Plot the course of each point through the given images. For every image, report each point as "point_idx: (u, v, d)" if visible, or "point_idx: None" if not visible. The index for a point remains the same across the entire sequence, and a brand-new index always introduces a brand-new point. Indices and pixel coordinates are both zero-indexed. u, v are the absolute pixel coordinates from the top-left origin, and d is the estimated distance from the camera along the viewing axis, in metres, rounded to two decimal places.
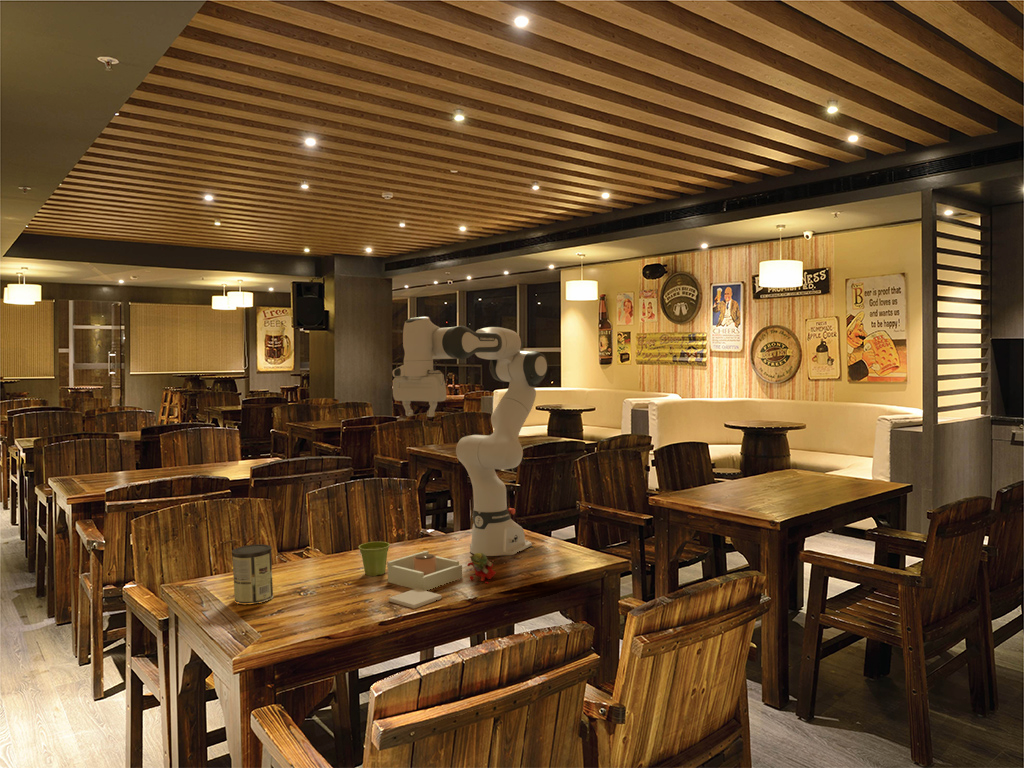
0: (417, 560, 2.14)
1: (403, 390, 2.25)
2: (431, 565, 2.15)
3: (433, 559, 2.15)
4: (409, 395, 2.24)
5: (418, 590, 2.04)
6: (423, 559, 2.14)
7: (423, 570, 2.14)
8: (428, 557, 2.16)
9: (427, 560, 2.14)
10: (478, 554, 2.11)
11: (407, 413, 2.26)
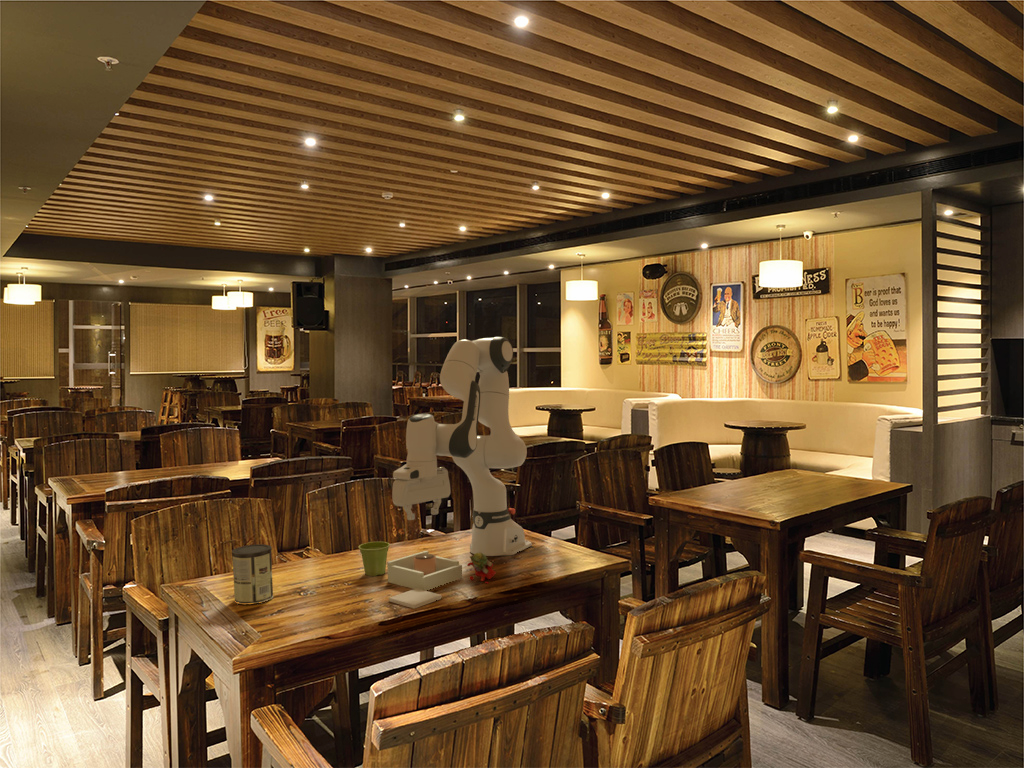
0: (417, 560, 2.14)
1: (413, 493, 2.11)
2: (431, 565, 2.15)
3: (433, 559, 2.15)
4: (420, 497, 2.13)
5: (418, 590, 2.04)
6: (423, 559, 2.14)
7: (423, 570, 2.14)
8: (428, 557, 2.16)
9: (427, 560, 2.14)
10: (478, 554, 2.11)
11: (413, 517, 2.12)
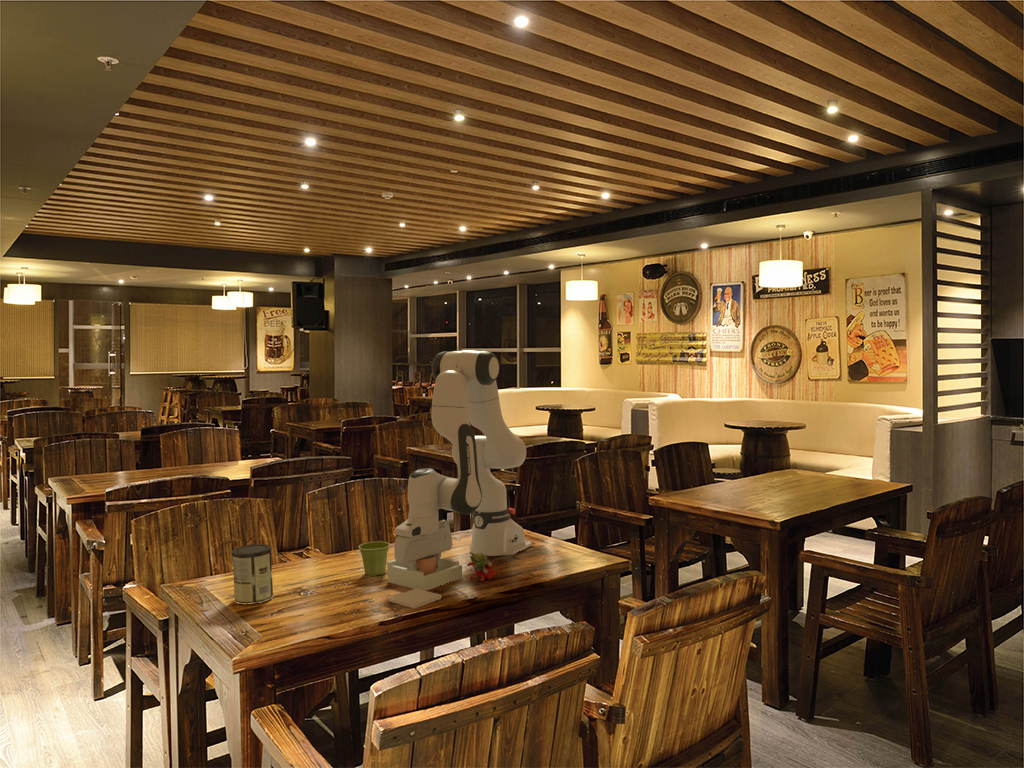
0: (417, 560, 2.14)
1: (415, 549, 2.12)
2: (431, 565, 2.15)
3: (433, 559, 2.15)
4: (422, 552, 2.14)
5: (418, 590, 2.04)
6: (423, 559, 2.14)
7: (423, 570, 2.14)
8: (428, 557, 2.16)
9: (427, 560, 2.14)
10: (478, 554, 2.11)
11: None
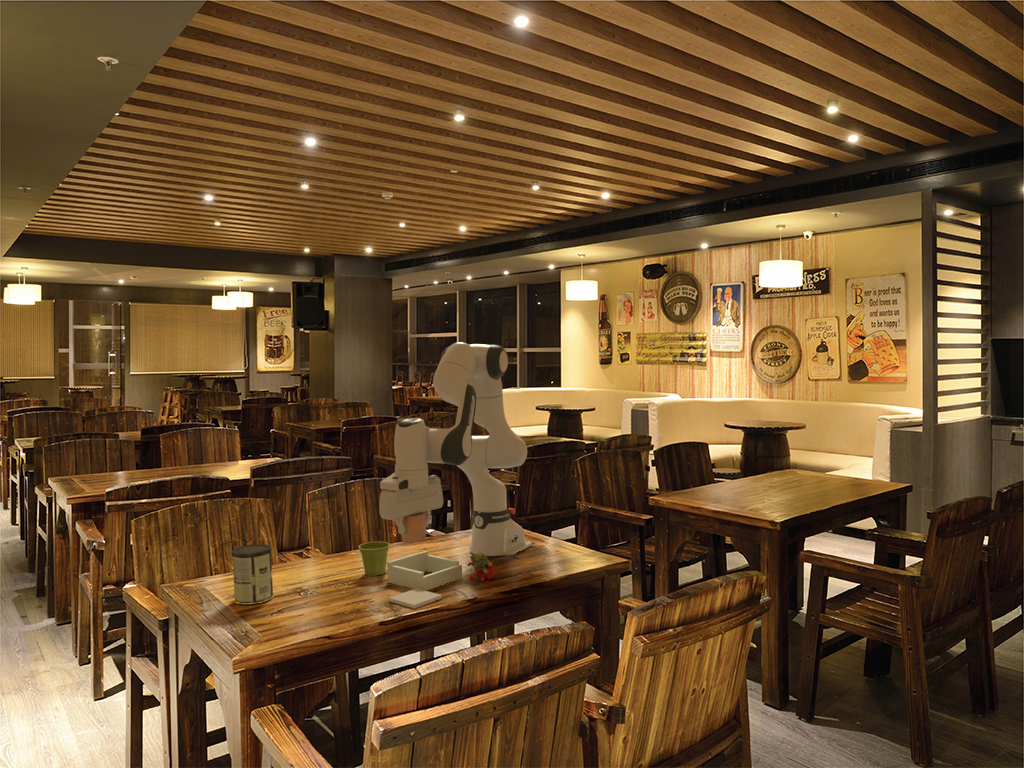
0: (404, 517, 1.96)
1: (402, 505, 1.94)
2: (419, 522, 1.96)
3: (422, 516, 1.97)
4: (410, 509, 1.96)
5: (418, 590, 2.04)
6: (411, 516, 1.96)
7: (411, 528, 1.96)
8: (417, 514, 1.97)
9: (415, 517, 1.96)
10: (478, 554, 2.11)
11: (405, 530, 1.95)
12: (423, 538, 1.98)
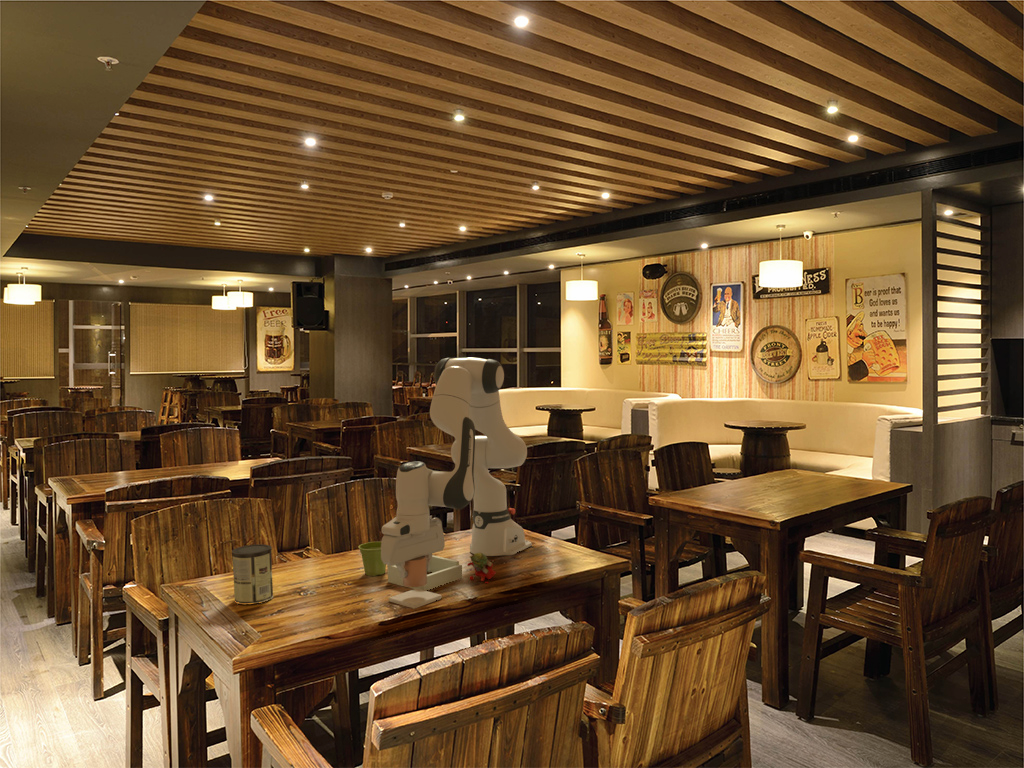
0: (406, 561, 1.96)
1: (404, 550, 1.94)
2: (421, 567, 1.97)
3: (423, 560, 1.97)
4: (411, 553, 1.96)
5: (418, 590, 2.04)
6: (412, 560, 1.96)
7: (412, 572, 1.96)
8: (418, 558, 1.98)
9: (417, 561, 1.96)
10: (478, 554, 2.11)
11: (406, 575, 1.96)
12: (424, 582, 1.98)
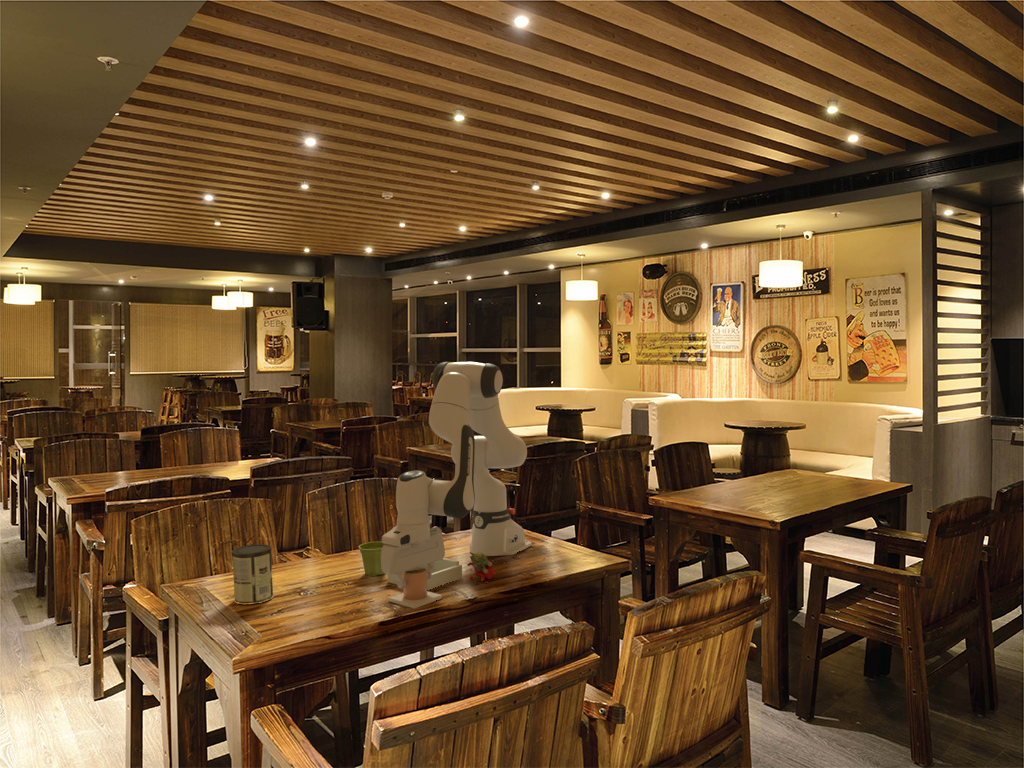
0: (406, 574, 1.97)
1: (404, 559, 1.94)
2: (421, 580, 1.97)
3: (424, 573, 1.98)
4: (412, 562, 1.96)
5: None
6: (413, 573, 1.97)
7: (413, 585, 1.96)
8: (418, 571, 1.98)
9: (417, 574, 1.96)
10: (478, 554, 2.11)
11: (404, 585, 1.95)
12: (425, 595, 1.98)
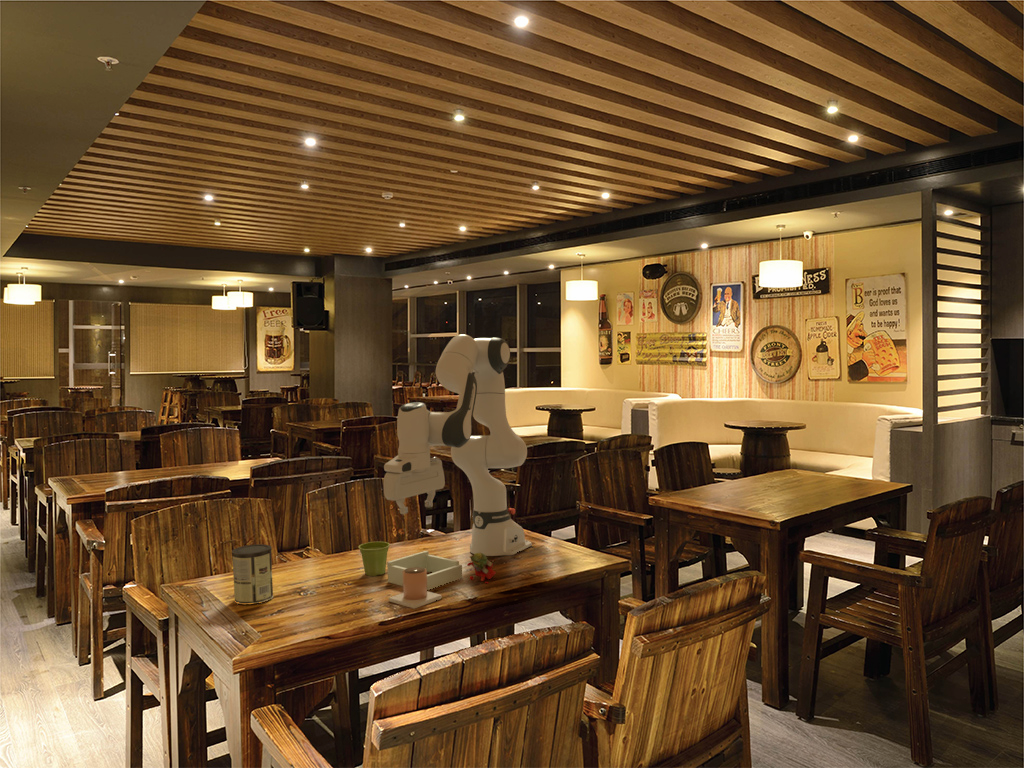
0: (406, 574, 1.97)
1: (406, 486, 2.01)
2: (421, 580, 1.97)
3: (424, 573, 1.98)
4: (413, 490, 2.03)
5: None
6: (413, 573, 1.97)
7: (413, 585, 1.96)
8: (418, 571, 1.98)
9: (417, 574, 1.96)
10: (478, 554, 2.11)
11: (406, 511, 2.03)
12: (425, 595, 1.98)
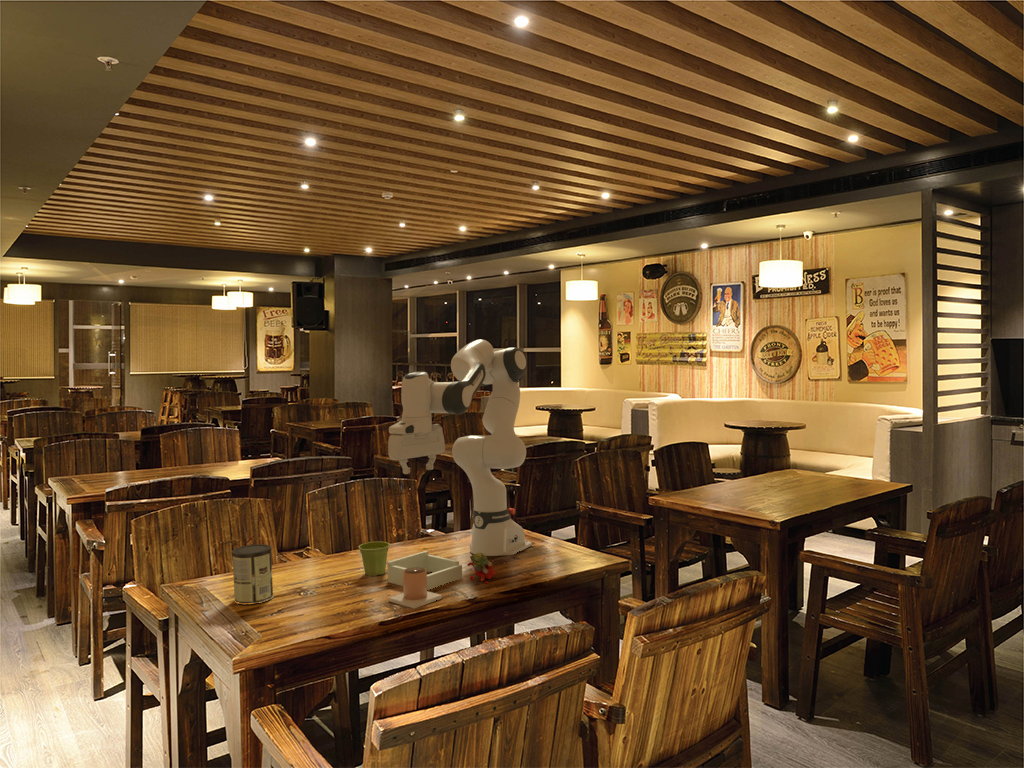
0: (406, 574, 1.97)
1: (408, 447, 2.18)
2: (421, 580, 1.97)
3: (424, 573, 1.98)
4: (415, 451, 2.20)
5: None
6: (413, 573, 1.97)
7: (413, 585, 1.96)
8: (418, 571, 1.98)
9: (417, 574, 1.96)
10: (478, 554, 2.11)
11: (408, 471, 2.19)
12: (425, 595, 1.98)
